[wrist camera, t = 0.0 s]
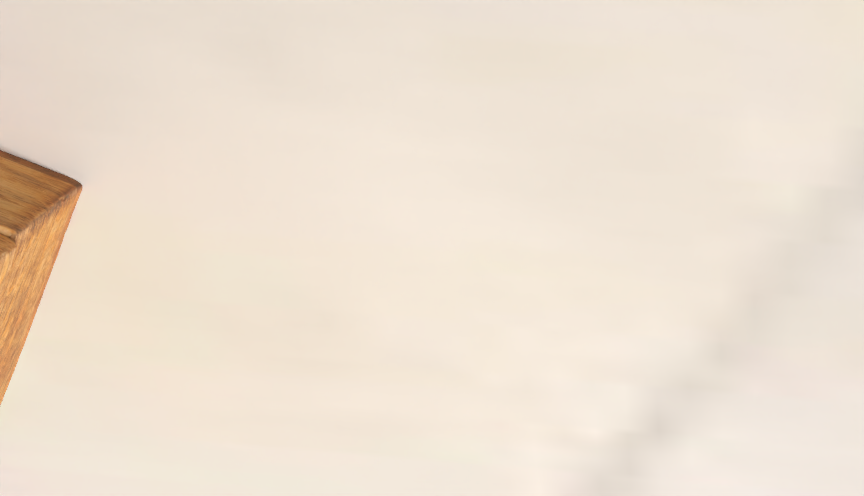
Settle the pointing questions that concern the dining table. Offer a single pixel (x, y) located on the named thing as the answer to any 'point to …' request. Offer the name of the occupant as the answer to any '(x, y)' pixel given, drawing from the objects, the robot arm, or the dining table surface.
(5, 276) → the wooden box
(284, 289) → the dining table surface
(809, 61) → the dining table surface
